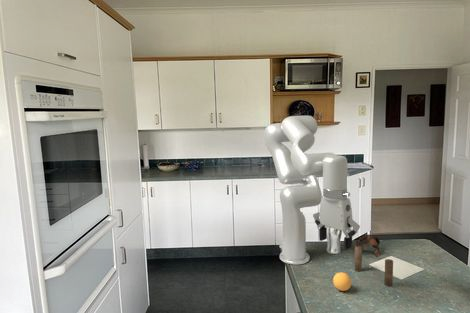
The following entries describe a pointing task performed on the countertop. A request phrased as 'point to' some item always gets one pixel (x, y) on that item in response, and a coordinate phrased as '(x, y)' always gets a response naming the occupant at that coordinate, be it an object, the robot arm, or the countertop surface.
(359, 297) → the countertop surface
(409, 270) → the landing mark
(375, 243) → the reddish brown arched figurine
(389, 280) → the post right
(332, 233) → the beer glass
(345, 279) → the ball
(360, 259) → the post left
